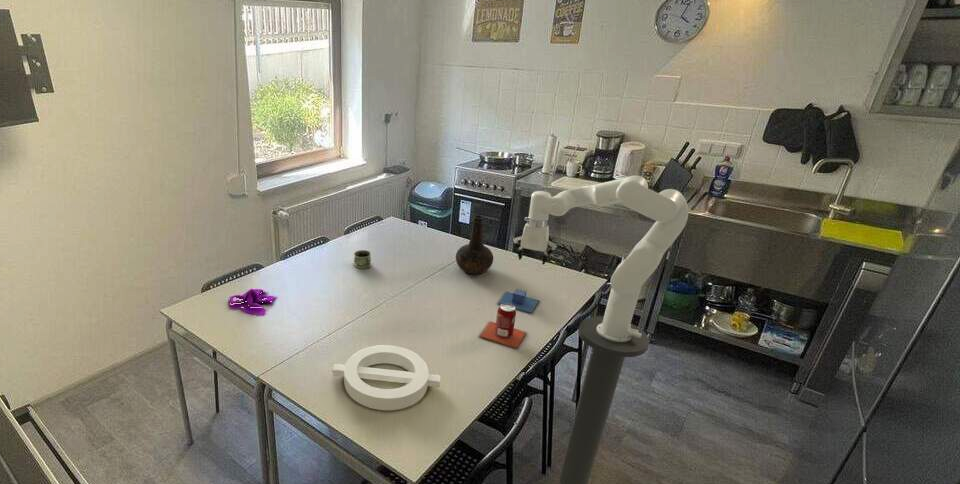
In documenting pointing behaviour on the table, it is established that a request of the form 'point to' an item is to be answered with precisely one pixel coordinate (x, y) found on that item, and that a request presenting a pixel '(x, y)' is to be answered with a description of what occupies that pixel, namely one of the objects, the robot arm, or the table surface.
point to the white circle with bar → (386, 377)
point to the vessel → (362, 258)
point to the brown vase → (475, 251)
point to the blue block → (519, 297)
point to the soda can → (505, 320)
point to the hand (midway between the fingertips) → (532, 260)
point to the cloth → (252, 301)
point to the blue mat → (526, 307)
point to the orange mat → (509, 341)
